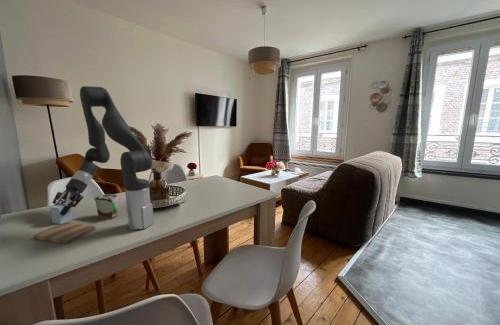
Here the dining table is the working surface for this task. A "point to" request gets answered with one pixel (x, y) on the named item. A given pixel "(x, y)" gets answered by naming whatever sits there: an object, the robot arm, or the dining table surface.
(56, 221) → the slate block
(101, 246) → the dining table surface
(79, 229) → the walnut board
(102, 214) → the food container
